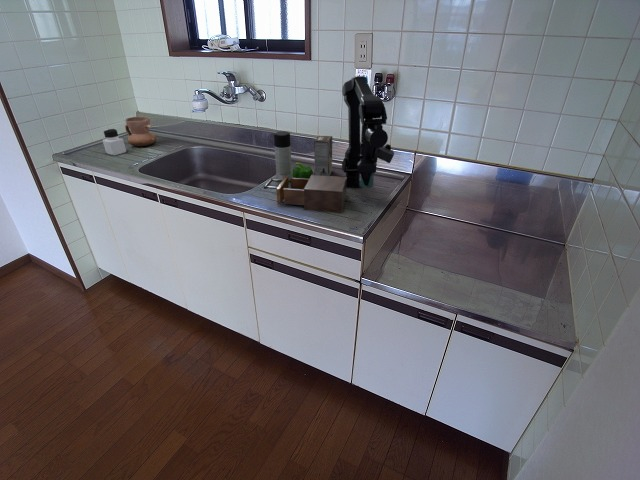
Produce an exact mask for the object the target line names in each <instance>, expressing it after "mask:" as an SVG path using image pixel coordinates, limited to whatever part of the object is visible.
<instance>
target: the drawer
mask: <svg viewBox="0 0 640 480" xmlns="http://www.w3.org/2000/svg"><path fill="white" fill-rule="evenodd" d="M308 181H309V179H304V178H293V177H292V178H291V181H289V180H288V176H285V177H284V179H283V180H277V179H276V178H275V179H274V178H269V180H267V182H266V183H265V184H264V186H263V190H267V189H270V190H272V189H273V190H276V192H275V193H276V203H277V206H281V205H282V204H283V203H284V204H285V205H296V206H297V205H298V206H304V188H305V186H306V184H307V183H308ZM272 182H276V183H279V185H278V186H271V184H272ZM289 182H290V183H289Z"/></svg>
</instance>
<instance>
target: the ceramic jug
mask: <svg viewBox="0 0 640 480" xmlns="http://www.w3.org/2000/svg"><path fill="white" fill-rule="evenodd" d="M124 121H125V125H124V128H125V129H124V130H125V132H126V133H127V135H128V138H127V142H128V143H129V144H130V145H131V146H133V147H139V148H140V147H141V148H142V147H149V146H151V145H153V144H154V143H156V141H157V136H156V135H155V134H154V133H152V132H150V129H152V128H153V125H151V119H150V117H149V116H131V117H127V118H125V119H124Z"/></svg>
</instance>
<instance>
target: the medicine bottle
mask: <svg viewBox="0 0 640 480" xmlns="http://www.w3.org/2000/svg"><path fill="white" fill-rule="evenodd" d="M103 134H104V139H102V140H101V141H102V143H103V147H104V150H105V153H106V154H107V155H110V156H119V155H121V154H125V153H127V149H126V145H125V141H124V138H121V137H119V133H118V130H117V129H115V128H108V129H104V130H103Z"/></svg>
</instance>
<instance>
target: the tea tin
mask: <svg viewBox="0 0 640 480" xmlns="http://www.w3.org/2000/svg"><path fill="white" fill-rule="evenodd" d="M360 181H361V182H360V187H361V188H364V189H365V188H366V189H371V188H374V183H375V182H374V181H375V173H371V176H370V180H369V183H368V186H365V185H364V182H363V179H362V177H361V176H360Z"/></svg>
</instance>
